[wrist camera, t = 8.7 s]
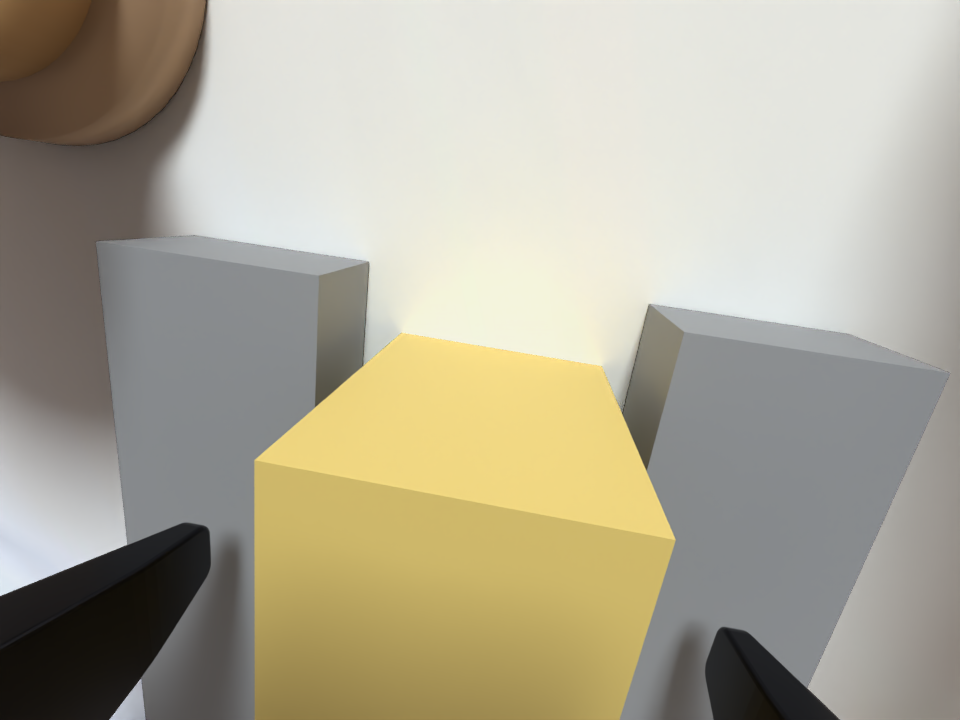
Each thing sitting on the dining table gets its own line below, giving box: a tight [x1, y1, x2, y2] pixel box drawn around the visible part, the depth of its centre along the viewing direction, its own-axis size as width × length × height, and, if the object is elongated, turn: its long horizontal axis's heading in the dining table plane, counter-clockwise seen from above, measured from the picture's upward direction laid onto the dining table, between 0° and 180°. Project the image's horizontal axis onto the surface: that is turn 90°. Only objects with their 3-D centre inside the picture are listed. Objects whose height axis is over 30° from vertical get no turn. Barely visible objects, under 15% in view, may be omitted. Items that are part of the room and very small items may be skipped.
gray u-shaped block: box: [96, 235, 950, 720], centre depth 11 cm, size 14×12×2 cm
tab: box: [254, 333, 676, 720], centre depth 9 cm, size 7×4×6 cm, turn 172°
